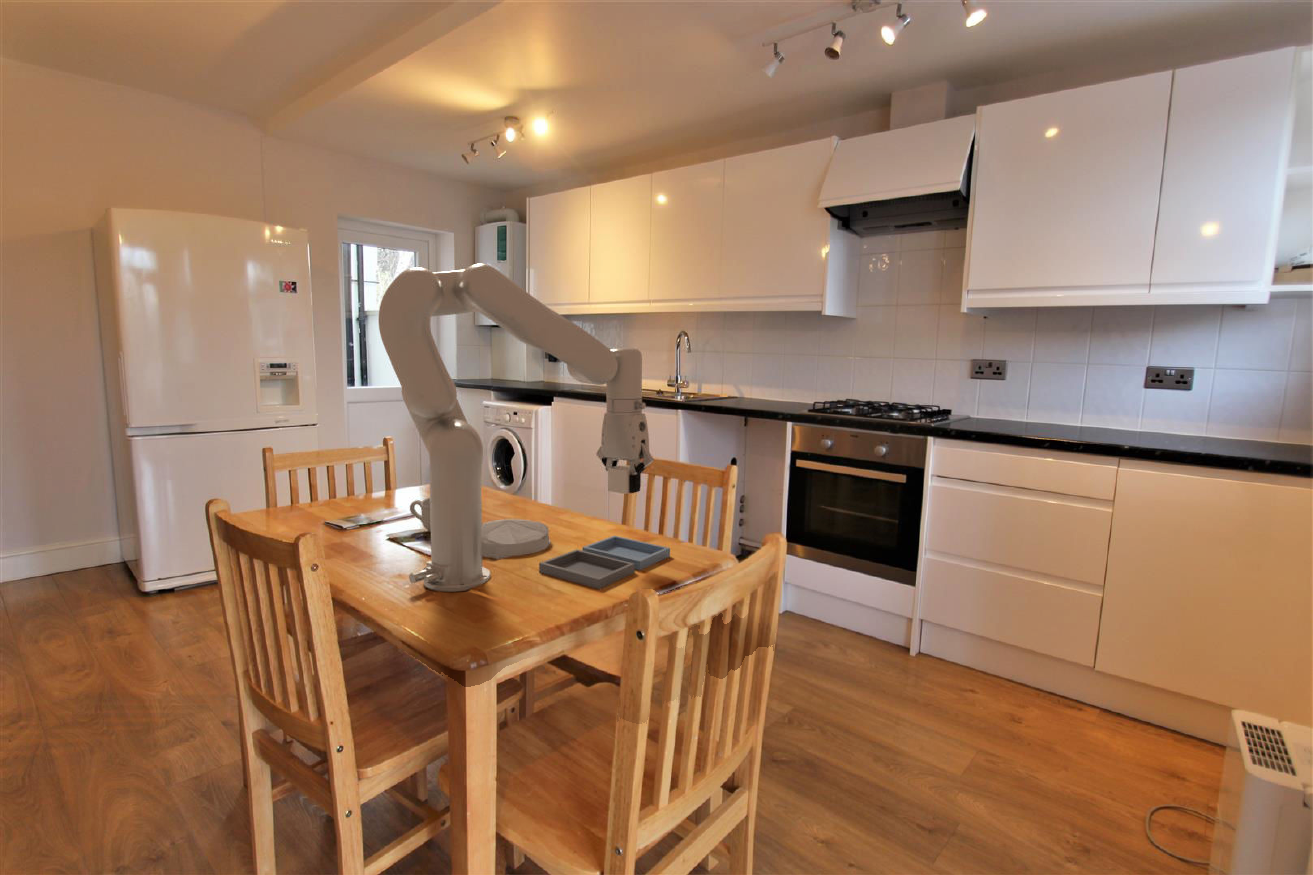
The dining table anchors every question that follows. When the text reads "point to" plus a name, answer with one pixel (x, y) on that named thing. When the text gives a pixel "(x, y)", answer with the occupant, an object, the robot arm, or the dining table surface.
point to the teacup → (425, 512)
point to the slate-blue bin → (629, 551)
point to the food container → (513, 538)
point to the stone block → (619, 479)
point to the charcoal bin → (587, 568)
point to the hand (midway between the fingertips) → (624, 489)
